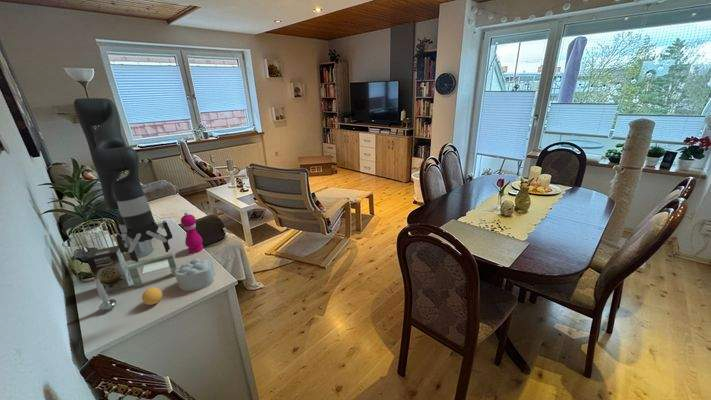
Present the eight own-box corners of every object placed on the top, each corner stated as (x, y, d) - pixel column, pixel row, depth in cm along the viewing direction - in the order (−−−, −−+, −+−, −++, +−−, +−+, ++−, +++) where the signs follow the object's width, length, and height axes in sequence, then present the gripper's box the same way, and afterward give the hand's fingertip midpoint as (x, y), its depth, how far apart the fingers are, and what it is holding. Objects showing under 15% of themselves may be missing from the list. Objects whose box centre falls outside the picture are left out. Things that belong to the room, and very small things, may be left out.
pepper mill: (207, 248, 139) (197, 210, 132) (193, 255, 134) (182, 216, 126) (199, 244, 143) (189, 208, 136) (184, 251, 137) (173, 213, 130)
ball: (145, 300, 105) (140, 287, 103) (164, 294, 108) (160, 281, 106) (144, 310, 100) (138, 297, 98) (163, 304, 103) (159, 291, 101)
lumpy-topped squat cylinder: (213, 286, 112) (208, 267, 109) (176, 294, 108) (170, 275, 105) (216, 271, 121) (211, 253, 118) (181, 278, 117) (176, 260, 114)
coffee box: (100, 294, 110) (84, 258, 104) (105, 284, 115) (90, 250, 109) (129, 286, 113) (115, 251, 108) (132, 277, 119) (119, 244, 113)
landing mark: (145, 260, 131) (145, 260, 131) (175, 252, 136) (175, 252, 136) (142, 274, 121) (142, 273, 121) (174, 265, 126) (174, 264, 126)
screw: (120, 302, 105) (113, 312, 100) (105, 305, 104) (97, 314, 99) (108, 273, 100) (99, 282, 95) (92, 275, 99) (83, 284, 95)
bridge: (136, 283, 115) (128, 263, 112) (178, 271, 122) (172, 252, 118) (135, 287, 113) (127, 267, 109) (178, 275, 119) (172, 255, 116)
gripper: (161, 202, 97) (175, 245, 102) (108, 214, 89) (126, 260, 94) (162, 207, 91) (177, 252, 96) (106, 221, 83) (125, 269, 88)
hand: (152, 256), depth 95 cm, fingers open, 8 cm apart
